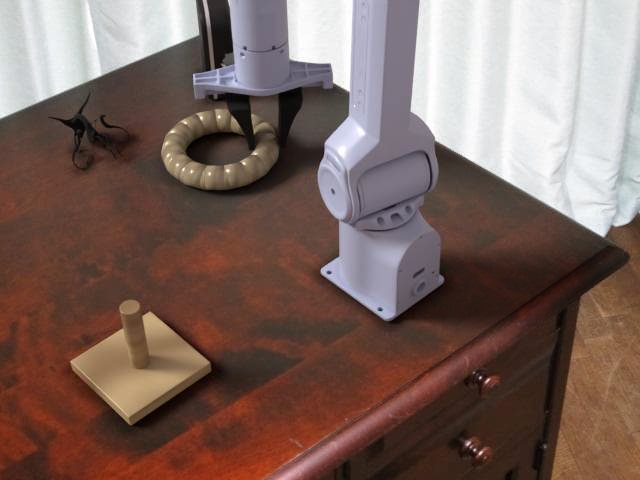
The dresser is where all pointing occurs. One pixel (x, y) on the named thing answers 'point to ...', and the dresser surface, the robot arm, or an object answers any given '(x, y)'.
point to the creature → (88, 131)
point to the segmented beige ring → (218, 175)
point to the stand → (140, 364)
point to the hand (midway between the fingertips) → (267, 143)
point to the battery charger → (214, 35)
